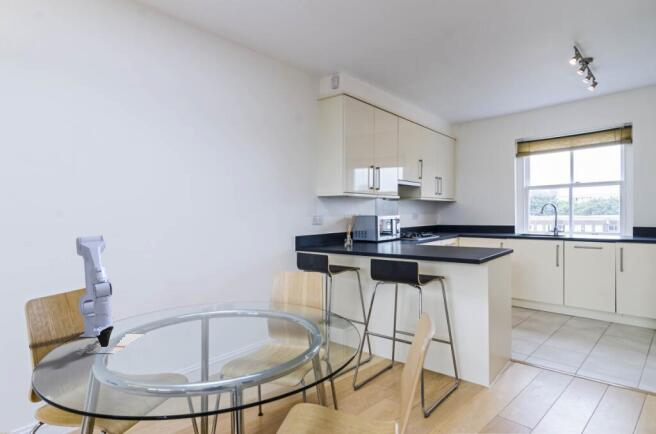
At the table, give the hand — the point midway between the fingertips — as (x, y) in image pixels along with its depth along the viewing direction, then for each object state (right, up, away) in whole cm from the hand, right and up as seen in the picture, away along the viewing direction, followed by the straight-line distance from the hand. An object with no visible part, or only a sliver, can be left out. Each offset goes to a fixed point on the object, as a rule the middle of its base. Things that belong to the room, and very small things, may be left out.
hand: (104, 346), depth 138 cm
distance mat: (+1, -1, +7) cm, 7 cm away
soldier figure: (-5, -1, 0) cm, 5 cm away
